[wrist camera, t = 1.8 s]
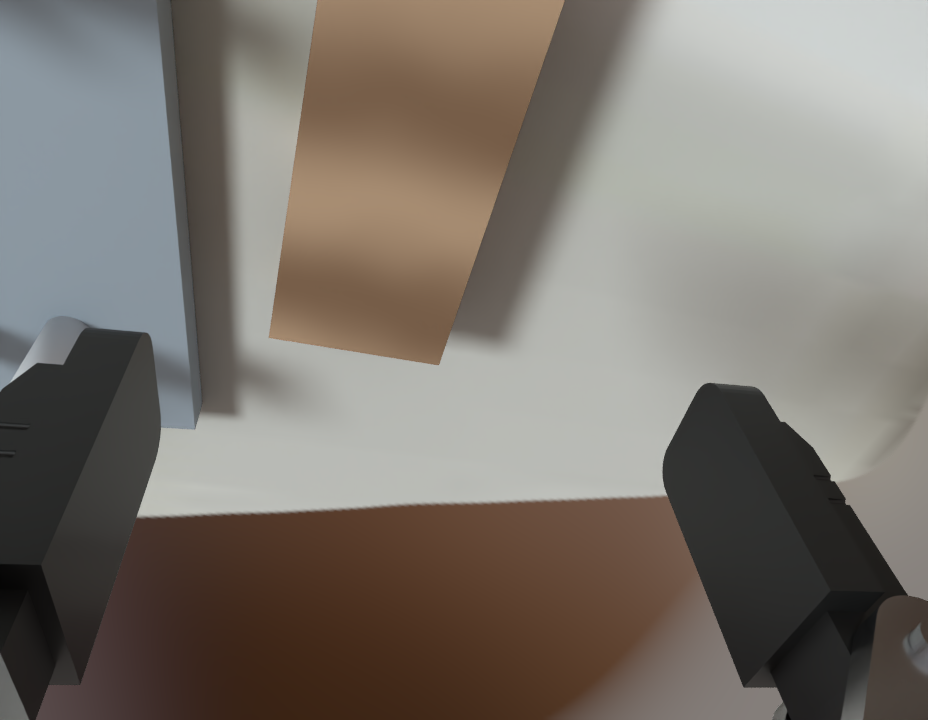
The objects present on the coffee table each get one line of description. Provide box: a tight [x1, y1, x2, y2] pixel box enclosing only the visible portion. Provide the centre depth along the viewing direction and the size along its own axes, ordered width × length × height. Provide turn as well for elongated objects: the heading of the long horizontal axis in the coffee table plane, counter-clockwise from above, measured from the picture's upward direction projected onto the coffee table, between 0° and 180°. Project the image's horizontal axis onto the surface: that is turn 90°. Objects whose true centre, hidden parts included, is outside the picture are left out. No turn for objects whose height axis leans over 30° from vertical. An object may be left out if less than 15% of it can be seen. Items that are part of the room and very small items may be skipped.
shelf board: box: [269, 0, 565, 365], centre depth 20 cm, size 18×6×4 cm, turn 164°
